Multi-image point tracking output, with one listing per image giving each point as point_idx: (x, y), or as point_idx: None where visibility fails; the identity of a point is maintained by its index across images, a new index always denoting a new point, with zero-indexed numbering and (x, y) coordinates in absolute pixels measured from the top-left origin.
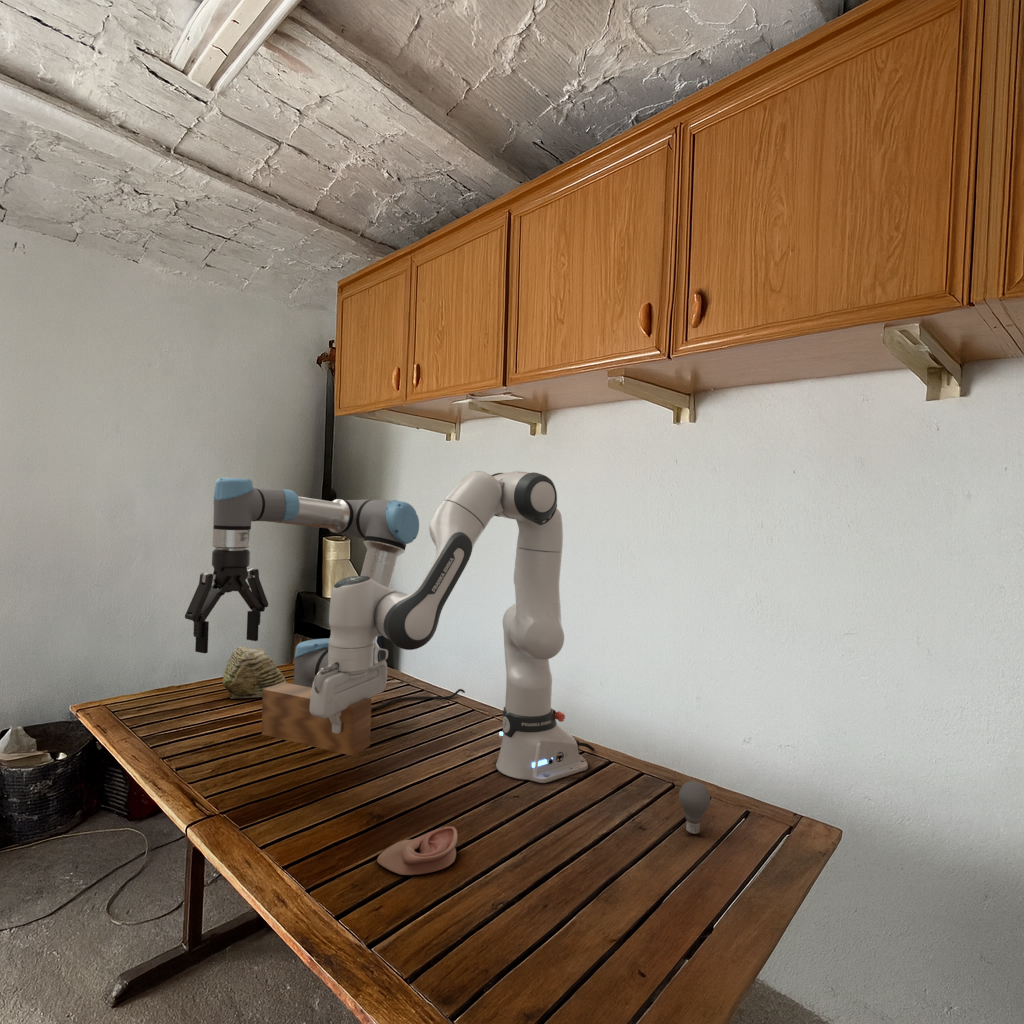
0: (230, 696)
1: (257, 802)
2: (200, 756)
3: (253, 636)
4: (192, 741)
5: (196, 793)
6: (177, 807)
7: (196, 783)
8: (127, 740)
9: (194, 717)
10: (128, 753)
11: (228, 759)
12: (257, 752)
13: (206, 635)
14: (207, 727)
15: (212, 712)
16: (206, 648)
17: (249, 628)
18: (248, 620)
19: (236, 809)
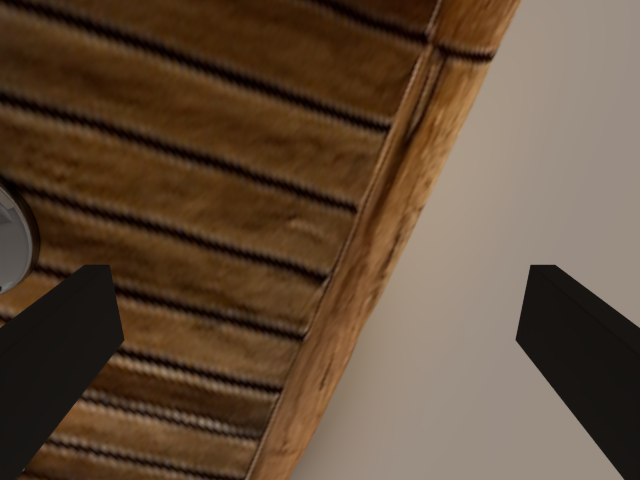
0: (20, 473)
1: (356, 6)
2: (258, 291)
3: (97, 298)
4: (218, 358)
5: (382, 161)
6: (442, 143)
7: (350, 197)
8: (281, 444)
9: (137, 443)
10: (318, 399)
11: (236, 234)
12: (175, 210)
13: (629, 334)
14: (154, 389)
15: (97, 439)
16: (558, 278)
17: (73, 373)
18: (31, 440)
19: (401, 23)
